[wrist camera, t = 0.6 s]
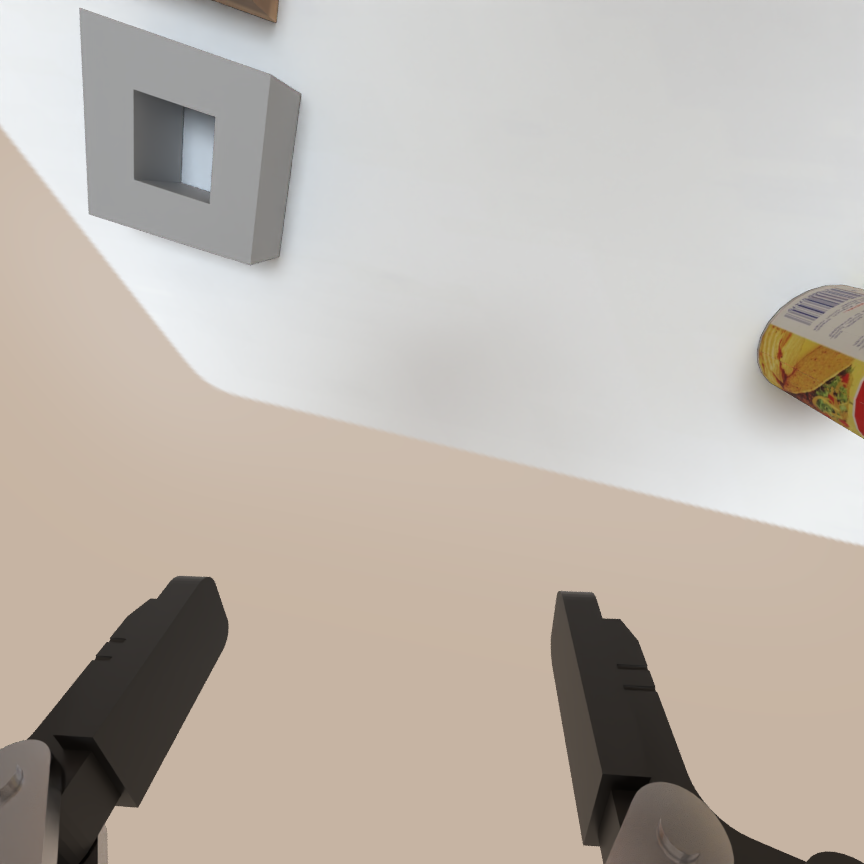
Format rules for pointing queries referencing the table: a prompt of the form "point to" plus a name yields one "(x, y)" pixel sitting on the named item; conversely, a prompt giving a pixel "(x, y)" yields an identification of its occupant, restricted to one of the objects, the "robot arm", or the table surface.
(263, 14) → the mount
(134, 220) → the dock
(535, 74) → the table surface
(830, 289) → the canned food
